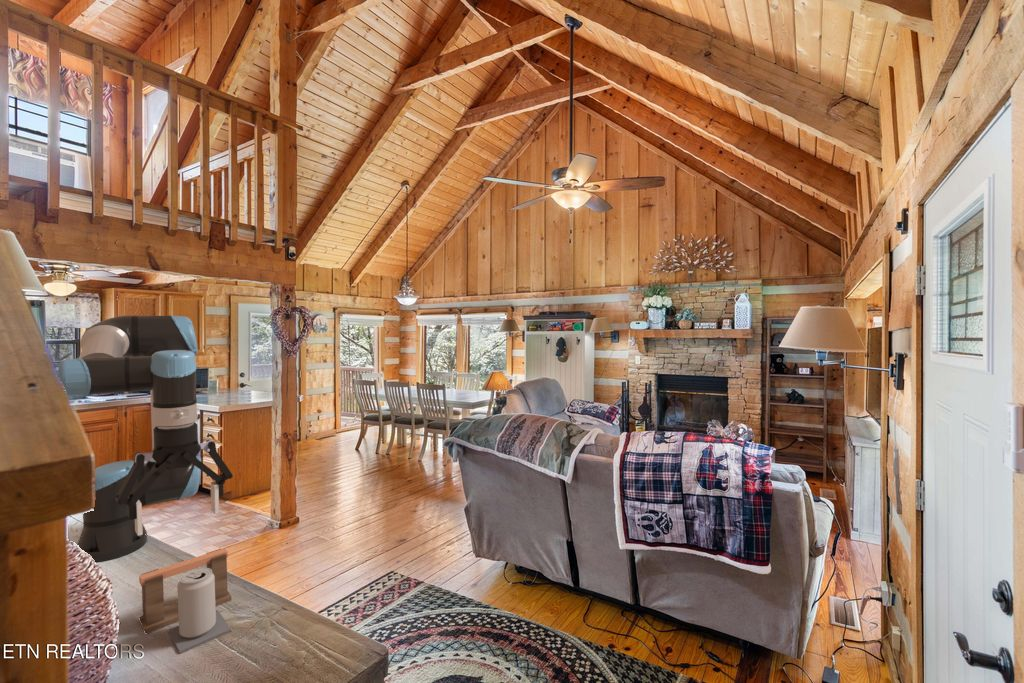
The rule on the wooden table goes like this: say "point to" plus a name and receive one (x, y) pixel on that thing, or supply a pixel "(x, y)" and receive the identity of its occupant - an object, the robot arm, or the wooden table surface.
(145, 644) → the wooden table surface
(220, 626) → the rubber mat
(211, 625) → the beverage can
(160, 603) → the walnut stand
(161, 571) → the crossbar
